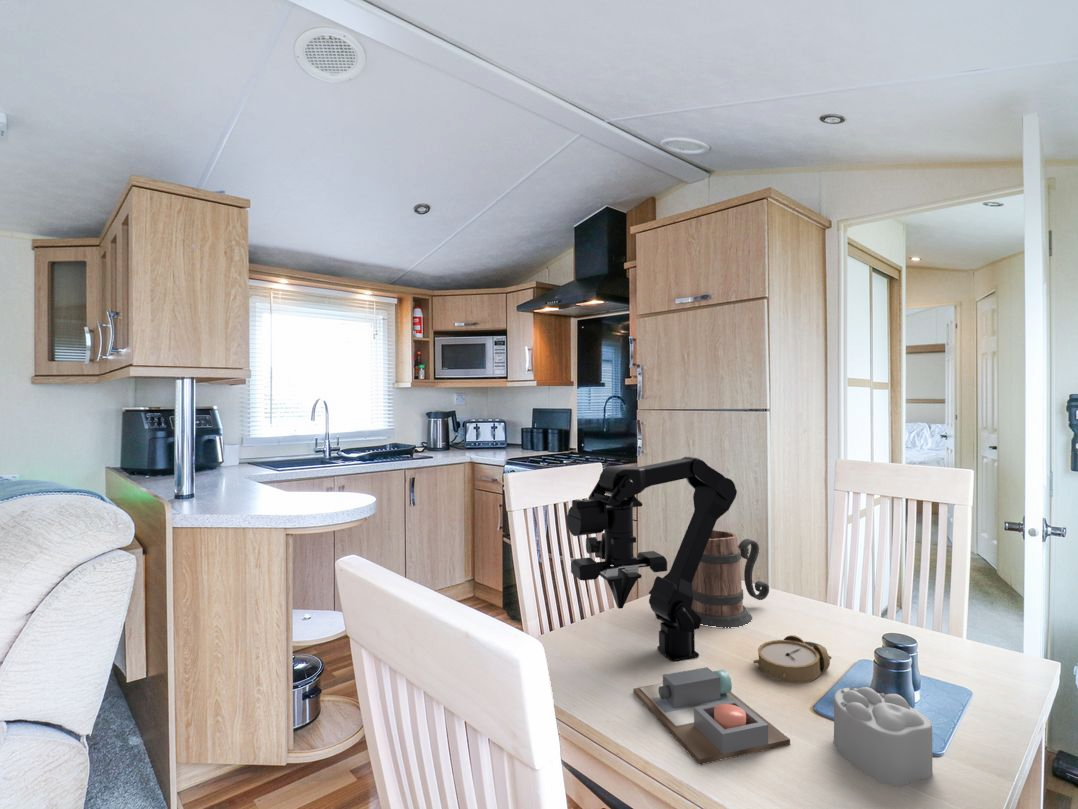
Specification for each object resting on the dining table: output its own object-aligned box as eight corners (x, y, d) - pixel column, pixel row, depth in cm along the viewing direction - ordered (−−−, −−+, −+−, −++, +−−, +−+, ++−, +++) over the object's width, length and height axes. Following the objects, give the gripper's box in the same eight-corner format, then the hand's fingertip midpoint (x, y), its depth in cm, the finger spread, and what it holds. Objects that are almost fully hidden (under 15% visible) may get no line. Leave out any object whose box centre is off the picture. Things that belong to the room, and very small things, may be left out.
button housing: (736, 716, 98) (736, 699, 98) (768, 744, 90) (768, 724, 90) (694, 725, 96) (693, 707, 96) (723, 754, 88) (722, 734, 88)
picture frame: (710, 679, 113) (709, 673, 112) (790, 744, 91) (790, 737, 91) (633, 692, 108) (633, 687, 108) (699, 764, 87) (699, 757, 87)
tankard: (706, 632, 134) (705, 545, 134) (667, 607, 150) (666, 529, 150) (790, 618, 142) (789, 536, 141) (745, 596, 158) (744, 521, 157)
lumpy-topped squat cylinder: (887, 791, 81) (887, 728, 80) (815, 738, 93) (815, 684, 93) (943, 774, 84) (943, 714, 84) (867, 726, 96) (866, 673, 96)
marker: (719, 687, 107) (718, 665, 107) (732, 697, 104) (732, 675, 103) (655, 698, 104) (655, 676, 104) (667, 710, 100) (666, 686, 100)
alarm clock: (744, 651, 118) (794, 623, 125) (747, 674, 119) (797, 645, 126) (791, 674, 108) (843, 642, 115) (795, 699, 109) (846, 666, 116)
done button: (734, 720, 96) (733, 701, 96) (752, 736, 91) (752, 717, 91) (708, 725, 95) (708, 706, 94) (725, 742, 90) (725, 722, 90)
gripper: (642, 518, 128) (643, 589, 128) (561, 525, 123) (562, 599, 123) (668, 529, 117) (669, 607, 118) (580, 537, 112) (581, 619, 112)
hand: (619, 607), depth 118 cm, fingers closed
